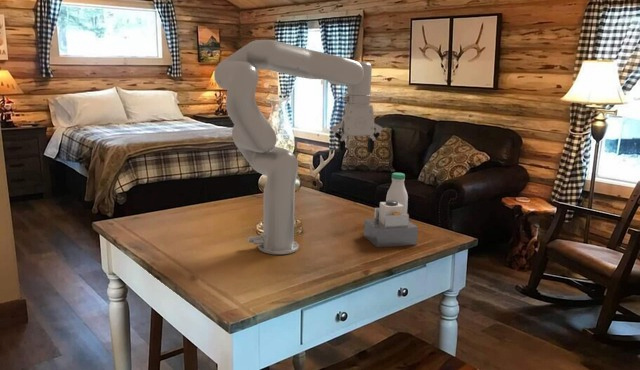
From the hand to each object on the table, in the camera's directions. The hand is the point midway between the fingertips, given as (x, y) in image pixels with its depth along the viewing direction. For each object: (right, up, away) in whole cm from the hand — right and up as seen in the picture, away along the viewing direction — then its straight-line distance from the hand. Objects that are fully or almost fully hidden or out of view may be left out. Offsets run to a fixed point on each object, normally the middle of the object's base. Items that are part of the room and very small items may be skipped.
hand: (356, 152), depth 183 cm
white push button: (+11, -23, -1) cm, 26 cm away
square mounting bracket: (+11, -29, +1) cm, 31 cm away
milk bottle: (+15, -27, +14) cm, 33 cm away
